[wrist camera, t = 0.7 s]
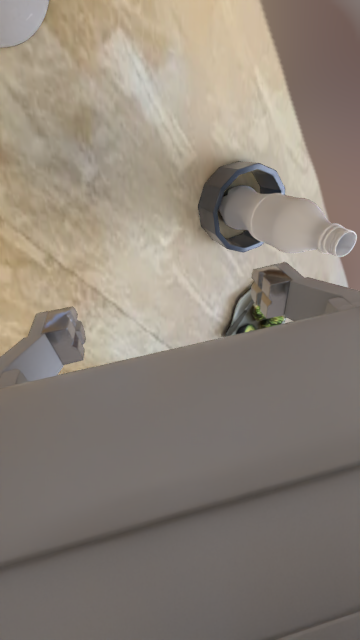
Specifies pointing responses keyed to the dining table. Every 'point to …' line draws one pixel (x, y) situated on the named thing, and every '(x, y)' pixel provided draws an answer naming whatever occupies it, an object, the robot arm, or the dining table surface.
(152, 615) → the robot arm
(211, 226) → the dark grey faceted ring
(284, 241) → the water bottle
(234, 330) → the avocado toast plate
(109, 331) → the dining table surface
